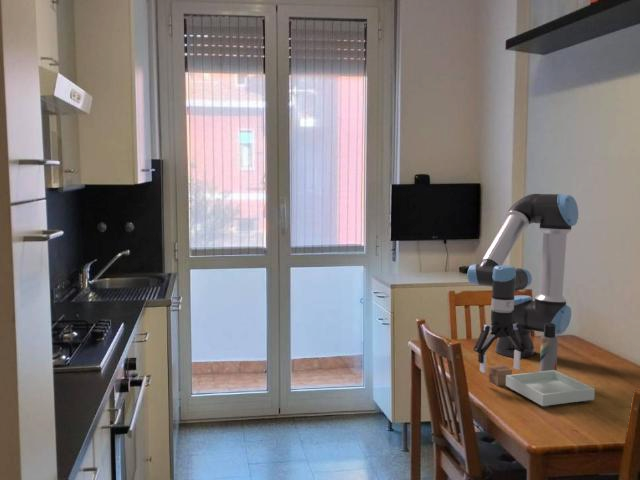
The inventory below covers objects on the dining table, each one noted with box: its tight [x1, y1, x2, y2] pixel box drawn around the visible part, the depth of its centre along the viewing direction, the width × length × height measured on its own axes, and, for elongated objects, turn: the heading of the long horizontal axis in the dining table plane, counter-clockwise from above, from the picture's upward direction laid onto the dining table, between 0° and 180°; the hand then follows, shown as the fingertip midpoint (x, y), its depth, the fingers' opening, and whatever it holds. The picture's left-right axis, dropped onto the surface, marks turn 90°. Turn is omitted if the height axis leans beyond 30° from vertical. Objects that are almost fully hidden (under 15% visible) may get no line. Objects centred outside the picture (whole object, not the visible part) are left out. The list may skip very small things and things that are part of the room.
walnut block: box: [488, 364, 513, 387], centre depth 228 cm, size 6×6×6 cm
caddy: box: [505, 370, 596, 409], centre depth 215 cm, size 20×20×5 cm
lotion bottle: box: [539, 323, 559, 372], centre depth 232 cm, size 6×6×20 cm
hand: (499, 370), depth 227 cm, fingers open, 13 cm apart
